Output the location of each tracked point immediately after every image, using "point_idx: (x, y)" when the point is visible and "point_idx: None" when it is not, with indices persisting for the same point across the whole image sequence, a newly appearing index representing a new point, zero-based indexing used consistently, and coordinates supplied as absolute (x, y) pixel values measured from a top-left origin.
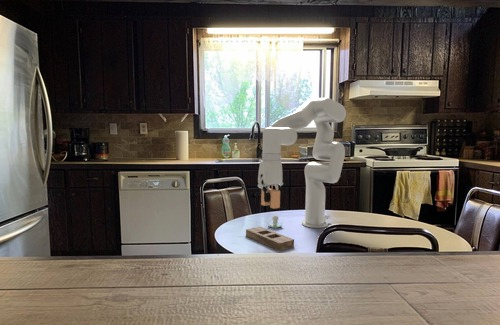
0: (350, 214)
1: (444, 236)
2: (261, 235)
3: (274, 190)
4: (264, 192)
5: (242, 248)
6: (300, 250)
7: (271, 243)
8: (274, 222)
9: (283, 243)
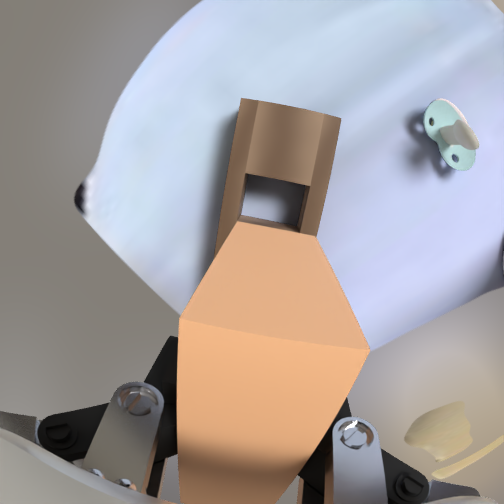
0: None
1: (495, 442)
2: (223, 224)
3: (234, 495)
4: (138, 398)
5: (126, 211)
6: None
7: None
8: (450, 134)
9: None
